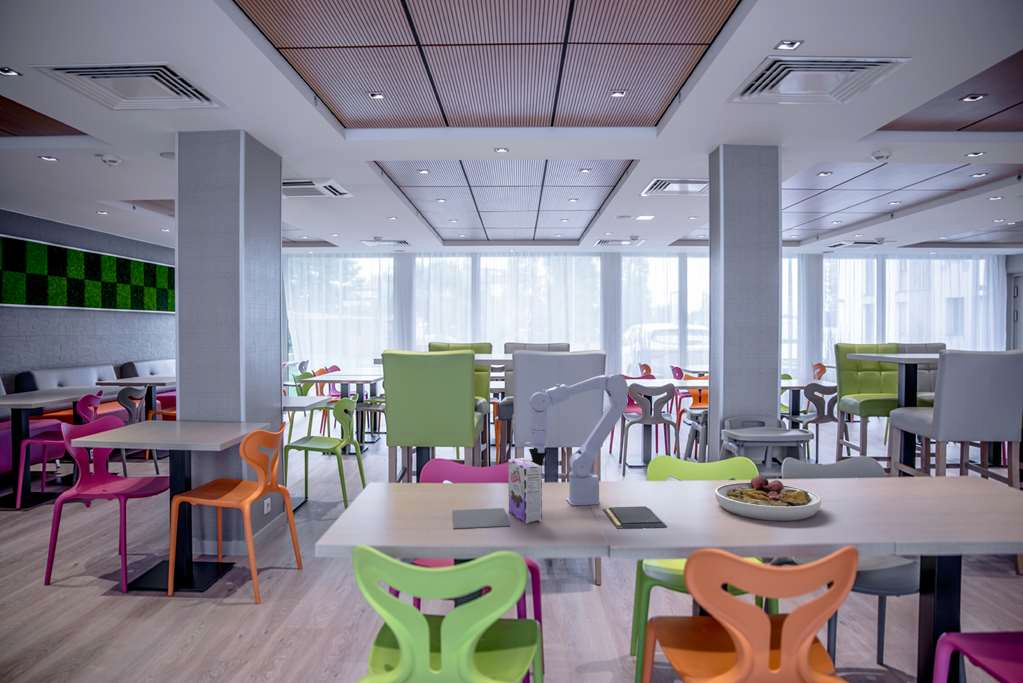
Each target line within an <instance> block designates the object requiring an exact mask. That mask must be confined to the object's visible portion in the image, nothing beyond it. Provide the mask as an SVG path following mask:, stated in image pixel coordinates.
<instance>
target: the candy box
mask: <svg viewBox="0 0 1023 683" xmlns="http://www.w3.org/2000/svg"><path fill="white" fill-rule="evenodd" d="M507 462H508V463H507V465H508V466H507V470H508V476H507V477H508V512H509V513H511V515H513V516H515V518H517V519H518V520H520V521H521V522H522V523H524V524H533V523H535V524H536V523H542V522H543V465H542V466H539V465H537V464H535V463H533V462H532V460H529V459H527V458H526V457H518V458H511V459H508V461H507Z"/></svg>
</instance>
